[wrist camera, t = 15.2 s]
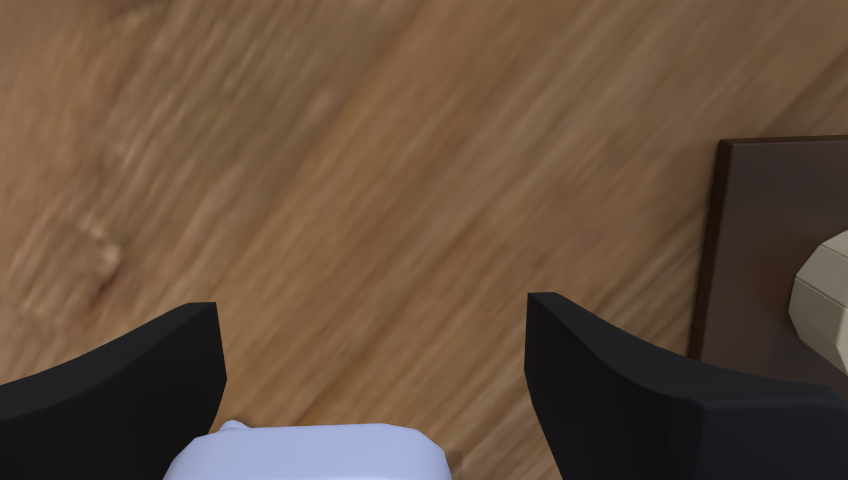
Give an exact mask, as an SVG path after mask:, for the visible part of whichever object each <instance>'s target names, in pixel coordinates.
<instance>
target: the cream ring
mask: <svg viewBox="0 0 848 480" xmlns="http://www.w3.org/2000/svg"><path fill="white" fill-rule="evenodd" d="M788 313H789V315H790V317H791V320H792V322H793V324H794V327H795V329H796V331H797V333H798V336H799V338H800V339H801V340H802V341H803V342H804V343H806V344H807V345H808V346H810V347H811V348H812V349H813V350H815V351H816V352H817V353H819V354H820V355H821V356H822V357H824V358H825V359H826V360H828V361H829V362H830V363H832V364H833V365H834V366H835V367H837V368H838V369H839V370H841V371H842V372H843V373H845V374H846V375H847V376H848V230H846V231H844V232H842V233H840V234H838V235H837V236H835V237H833V238H831V239H829V240H827V241H825V242H823V243H822V244H821V245H819V246H818V248H817V249H816V250H815V251H814V253H813V254H812V255H811V256H810V258H809V259H808V260H807V261H806V263H805V264H804V265H803V266H802V268H801V269H800V270H799V271H798V273H797V274H796V277H795V279H794V284H793V289H792V294H791V299H790V304H789V311H788Z"/></svg>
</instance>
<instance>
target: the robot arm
mask: <svg viewBox="0 0 848 480" xmlns="http://www.w3.org/2000/svg"><path fill="white" fill-rule="evenodd" d="M524 372H525V376H526V380H527V385H528V389H529V393H530V397H531V401H532V404H533V407H534V410H535V412H536V415H537V417H538V420H539V422H540V425H541V427H542V430H543V432H544V435H545V437H546V440H547V442H548V444H549V447H550V449H551V452H552V454H553V457H554V459H555V461H556V464H557V466H558V469H559V471H560V474H561V476H562V479H563V480H848V401H847V400H846V399H845V398H843V397H842V396H841V395H840V394H839V393H837V392H836V391H835V390H834V389H833V388H832V387H830V386H824V385H816V384H809V383H801V382H794V381H786V380H779V379H772V378H767V377H762V376H757V375H752V374H747V373H742V372H738V371H733V370H729V369H725V368H721V367H717V366H714V365H711V364H707V363H704V362H700V361H697V360H694V359H690V358H687V357H684V356H681V355H678V354H676V353H673V352H671V351H668V350H665V349H663V348H660V347H658V346H655V345H653V344H650V343H648V342H646V341H644V340H641V339H639V338H637V337H635V336H633V335H631V334H629V333H627V332H625V331H623V330H621V329H619V328H617V327H615V326H614V325H612V324H610V323H608V322H606V321H604V320H603V319H601V318H599V317H598V316H596V315H594V314H592V313H591V312H589V311H587V310H586V309H584V308H582V307H581V306H579V305H577V304H576V303H574V302H572V301H570V300H569V299H567V298H565V297H563V296H562V295H559V294H557V293H555V292H541V293H528V299H527V319H526V340H525V360H524ZM226 382H227V375H226V368H225V361H224V354H223V348H222V341H221V334H220V327H219V320H218V313H217V306H216V302H201V303H187V304H184V305H182V306H179V307H177V308H175V309H173V310H171V311H169V312H167V313H165V314H163V315H161V316H159V317H157V318H155V319H153V320H151V321H149V322H148V323H146V324H144V325H142V326H140V327H138V328H136V329H134V330H132V331H131V332H129V333H127V334H125V335H123V336H121V337H119V338H117V339H115V340H113V341H111V342H109V343H107V344H105V345H103V346H100V347H98V348H96V349H94V350H92V351H90V352H88V353H86V354H84V355H82V356H79V357H77V358H75V359H73V360H70V361H68V362H65V363H63V364H60V365H58V366H55V367H53V368H50V369H48V370H45V371H42V372H40V373H37V374H34V375H31V376H28V377H25V378H22V379H19V380H16V381H13V382H9V383H6V384H3V385H0V480H452V476H451V473H450V470H449V467H448V464H447V461H446V458H445V455H444V452H443V450H442V449H441V448H440V447H439V446H437V445H436V444H435V443H434V442H432V441H431V440H430V439H428V438H427V437H426V436H425V435H423V434H422V433H421V432H420V431H418V430H416V429H410V428H405V427H399V426H394V425H389V424H383V423H379V424H351V425H324V426H296V427H268V428H249V427H247V426H246V425H244V424H242V423H241V422H238V421H236V420H230V421H227V422H225V423H224V424H223V425H222V426H221V428H220V429H219V430H218V431H217V432H216V433H212V434H208V432H209V430H210V428H211V426H212V424H213V421H214V419H215V417H216V415H217V412H218V408H219V405H220V402H221V399H222V396H223V392H224V389H225V385H226ZM207 434H208V435H207Z"/></svg>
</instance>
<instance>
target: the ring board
mask: <svg viewBox="0 0 848 480" xmlns="http://www.w3.org/2000/svg"><path fill="white" fill-rule="evenodd" d="M846 230H848V135H832V136H802V137H771V138H741V139H722V140H720V142H719V149H718V156H717V163H716V170H715V177H714V184H713V191H712V198H711V205H710V212H709V219H708V226H707V234H706V241H705V248H704V255H703V262H702V269H701V276H700V283H699V290H698V297H697V304H696V311H695V318H694V326H693V333H692V340H691V347H690V354H689V358H690V359H694V360H697V361H700V362H704V363H707V364H711V365H714V366H717V367H721V368H725V369H729V370H733V371H738V372H742V373H747V374H752V375H757V376H762V377H767V378H772V379H779V380H786V381H794V382H801V383H809V384H816V385H824V386H830V387H832V388H833V389H834V390H835V391H836V392H837V393H839V394H840V395H841V396H842V397H843V398H845V399H846V400H847V401H848V376H847V375H846V374H845V373H843V372H842V371H841V370H839V369H838V368H837V367H835V366H834V365H833V364H832V363H830V362H829V361H828V360H826V359H825V358H824V357H822V356H821V355H820V354H819V353H817V352H816V351H815V350H813V349H812V348H811V347H810V346H808V345H807V344H806V343H804V342H803V341H802V340H801V339H800V338H799V336H798V333H797V331H796V329H795V327H794V324H793V322H792V320H791V317H790V315H789V313H788V311H789V304H790V299H791V294H792V289H793V284H794V279H795V277H796V274H797V273H798V271H799V270H800V269H801V268H802V266H803V265H804V264H805V263H806V261H807V260H808V259H809V258H810V256H811V255H812V254H813V253H814V251H815V250H816V249H817V248H818V246H819V245H821V244H822V243H823V242H825V241H827V240H829V239H831V238H833V237H835V236H837V235H838V234H840V233H842V232H844V231H846Z"/></svg>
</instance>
